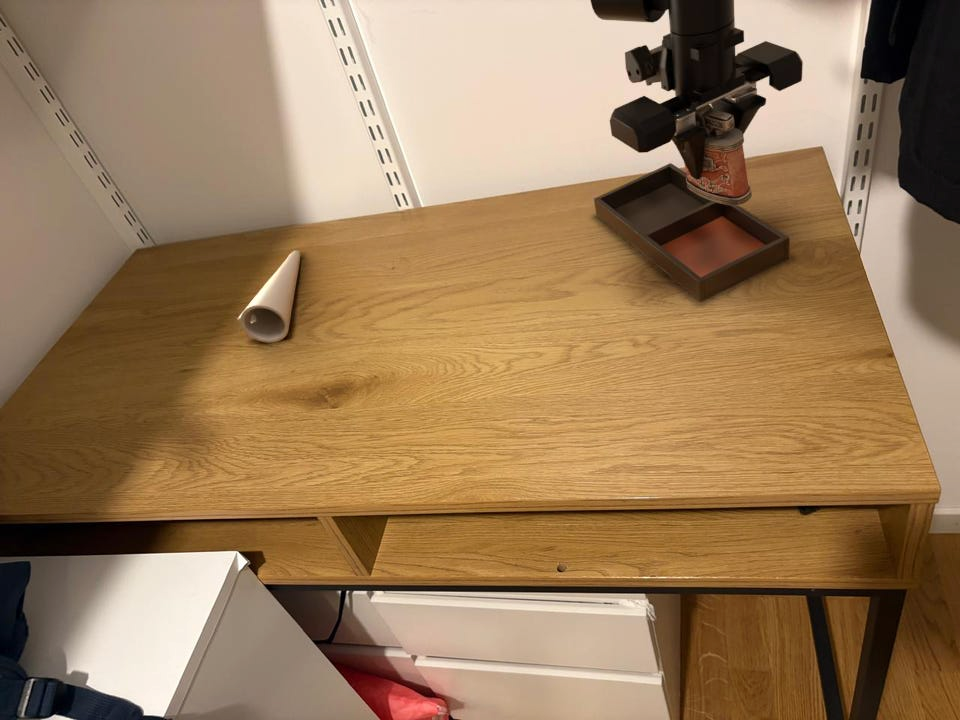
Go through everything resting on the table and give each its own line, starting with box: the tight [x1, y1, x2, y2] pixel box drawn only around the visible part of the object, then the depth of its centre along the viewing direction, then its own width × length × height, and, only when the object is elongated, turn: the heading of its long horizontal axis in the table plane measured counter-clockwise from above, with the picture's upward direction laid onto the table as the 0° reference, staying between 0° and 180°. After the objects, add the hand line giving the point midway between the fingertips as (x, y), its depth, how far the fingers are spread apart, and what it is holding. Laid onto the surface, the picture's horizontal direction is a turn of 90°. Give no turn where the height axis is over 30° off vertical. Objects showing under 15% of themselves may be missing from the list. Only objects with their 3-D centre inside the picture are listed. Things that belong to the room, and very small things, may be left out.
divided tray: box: [593, 162, 791, 303], centre depth 89 cm, size 12×23×3 cm, turn 23°
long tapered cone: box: [236, 249, 301, 344], centre depth 101 cm, size 6×6×19 cm
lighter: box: [683, 104, 753, 206], centre depth 77 cm, size 8×3×10 cm, turn 34°
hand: (709, 171), depth 79 cm, fingers closed on lighter, 3 cm apart
